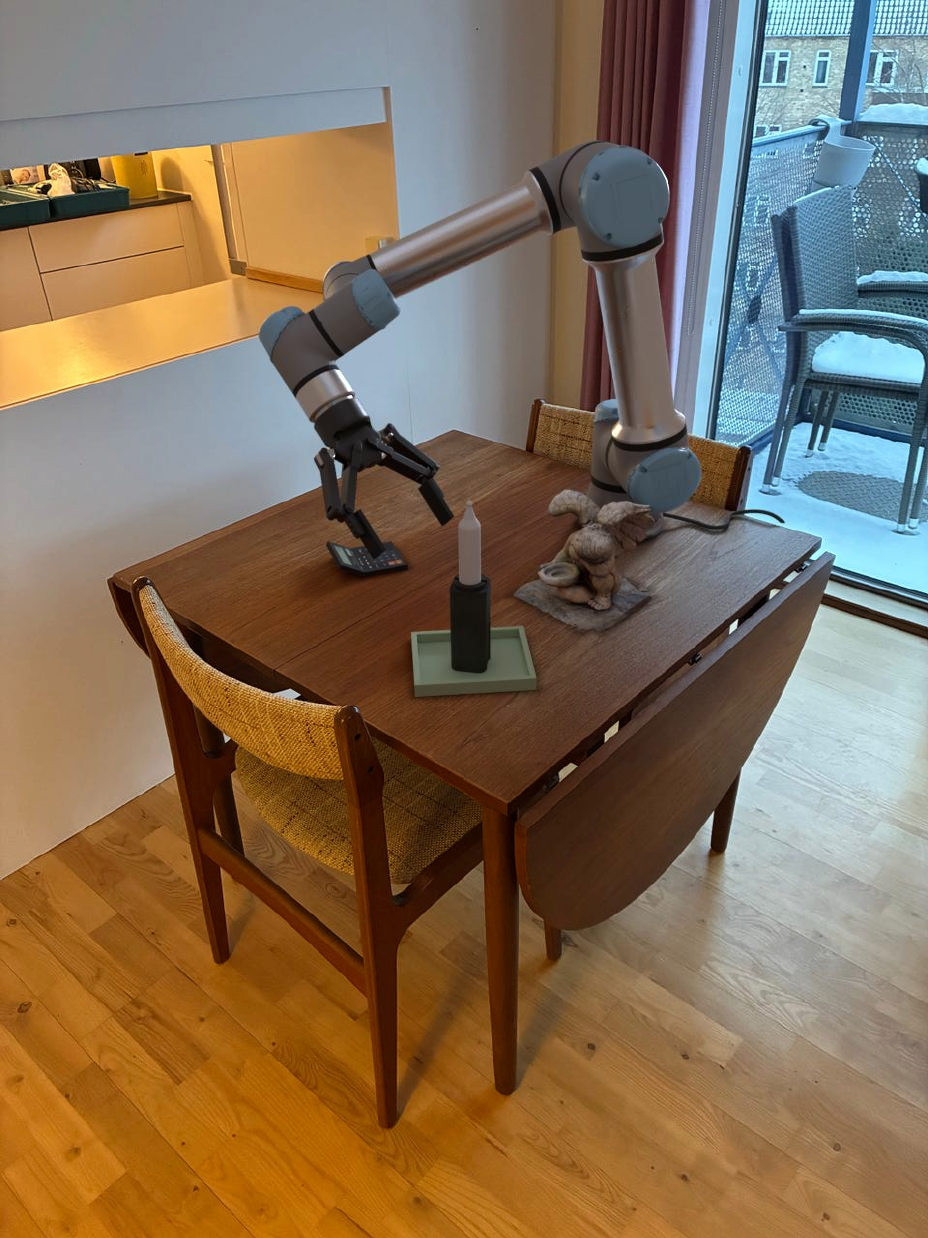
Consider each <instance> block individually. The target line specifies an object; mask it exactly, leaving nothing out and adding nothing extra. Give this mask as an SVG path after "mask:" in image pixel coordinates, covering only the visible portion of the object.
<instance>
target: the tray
mask: <svg viewBox="0 0 928 1238" xmlns="http://www.w3.org/2000/svg"><path fill="white" fill-rule="evenodd" d="M410 641H411V656H412V671H413V672H412V673H413V687H414V688H413V689H414V697H415V698H423V697H438V696H439V697H440V696H456V695H458V696H459V695H473V694H489V693H490V694H492V693H509V692H524V691H536V690H537V682H538V681H537V680H538V678H537V674H536V671H535V666H534V663H533V658H532V655H531V650H530V647H529V643H528V638H527V635H526V631H525V627H524V625H515V626H498V627H497V626H495V627H491V659H489V661H488V664H487V670H486V671H485V672H483V673H469V672H460V671H455V670H453V669H452V667H451V632H450V629H440V630H426V631H425V630H424V631H423V630H422V631H411V632H410Z"/></svg>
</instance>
